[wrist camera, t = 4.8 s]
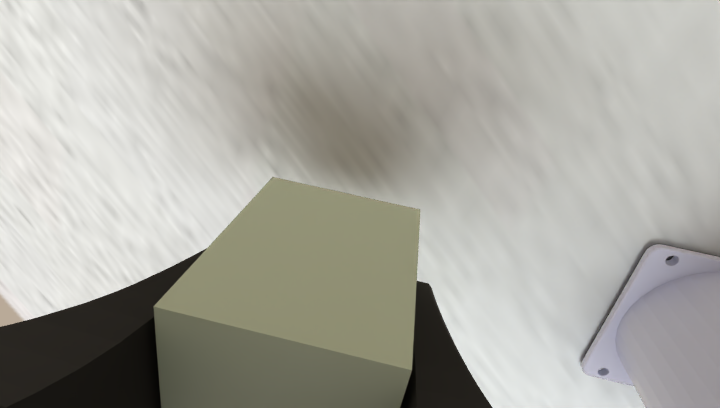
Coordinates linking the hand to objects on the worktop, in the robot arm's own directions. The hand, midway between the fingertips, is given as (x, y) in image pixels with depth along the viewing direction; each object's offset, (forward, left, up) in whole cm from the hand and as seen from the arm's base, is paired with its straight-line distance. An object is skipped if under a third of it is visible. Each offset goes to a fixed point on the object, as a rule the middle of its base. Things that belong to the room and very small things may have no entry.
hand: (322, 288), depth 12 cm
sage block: (0, 0, -2) cm, 2 cm away
